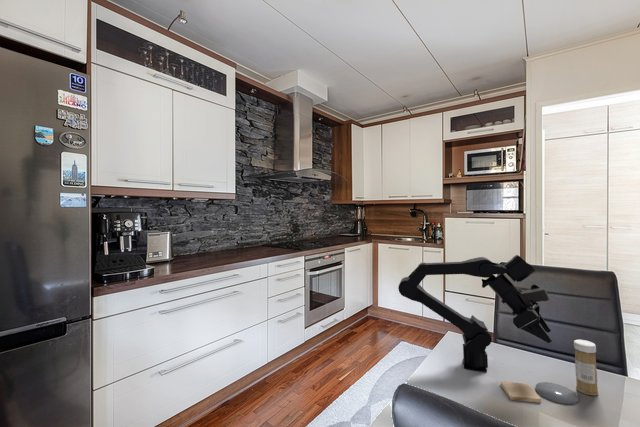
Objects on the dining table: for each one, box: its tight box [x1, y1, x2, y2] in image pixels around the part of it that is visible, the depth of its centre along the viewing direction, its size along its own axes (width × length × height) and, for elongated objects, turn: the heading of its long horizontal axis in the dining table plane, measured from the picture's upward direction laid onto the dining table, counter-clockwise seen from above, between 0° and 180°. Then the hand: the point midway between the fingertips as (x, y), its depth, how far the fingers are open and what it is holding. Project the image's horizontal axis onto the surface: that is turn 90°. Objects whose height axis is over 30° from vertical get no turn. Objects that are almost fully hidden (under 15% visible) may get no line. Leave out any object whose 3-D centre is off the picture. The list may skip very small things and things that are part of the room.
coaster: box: [535, 381, 579, 405], centre depth 79 cm, size 9×9×1 cm
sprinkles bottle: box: [573, 339, 599, 397], centre depth 80 cm, size 5×5×14 cm
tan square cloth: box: [500, 381, 542, 404], centre depth 80 cm, size 7×7×1 cm
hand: (550, 336), depth 85 cm, fingers open, 9 cm apart
